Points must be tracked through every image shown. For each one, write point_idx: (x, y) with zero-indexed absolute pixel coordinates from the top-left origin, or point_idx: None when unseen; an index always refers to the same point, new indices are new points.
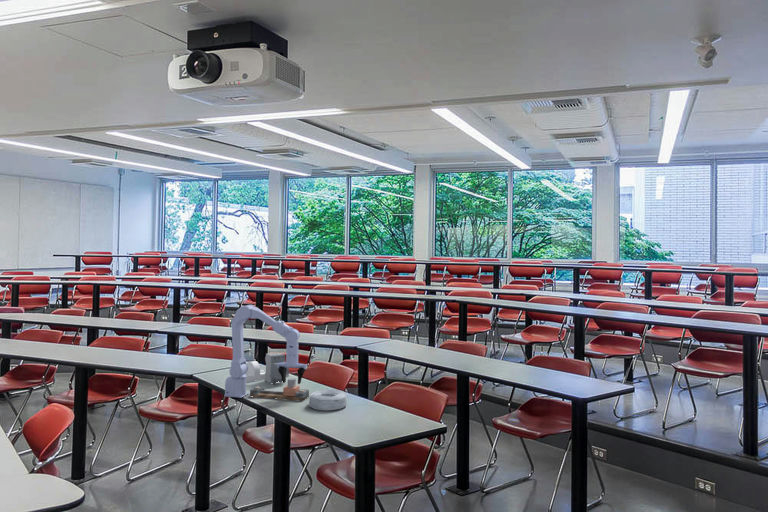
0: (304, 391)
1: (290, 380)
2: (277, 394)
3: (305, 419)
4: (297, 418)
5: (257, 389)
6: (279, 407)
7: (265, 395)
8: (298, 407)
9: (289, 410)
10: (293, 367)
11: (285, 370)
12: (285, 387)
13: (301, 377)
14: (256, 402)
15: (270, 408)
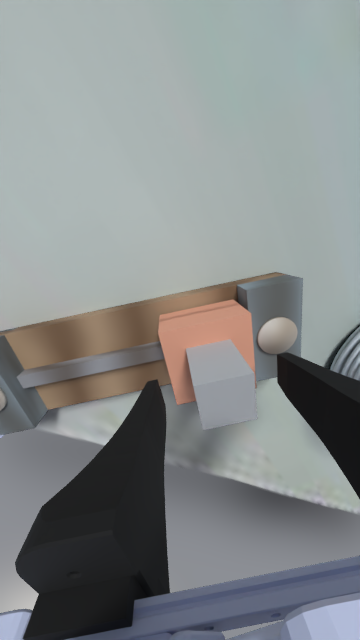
0: (294, 340)
1: (227, 419)
2: (132, 366)
3: (348, 490)
4: (324, 493)
5: (16, 416)
6: (226, 450)
7: (89, 399)
8: (290, 423)
9: (274, 458)
10: (336, 588)
11: (142, 492)
12: (183, 391)
13: (330, 377)
14: None
15: (204, 469)
